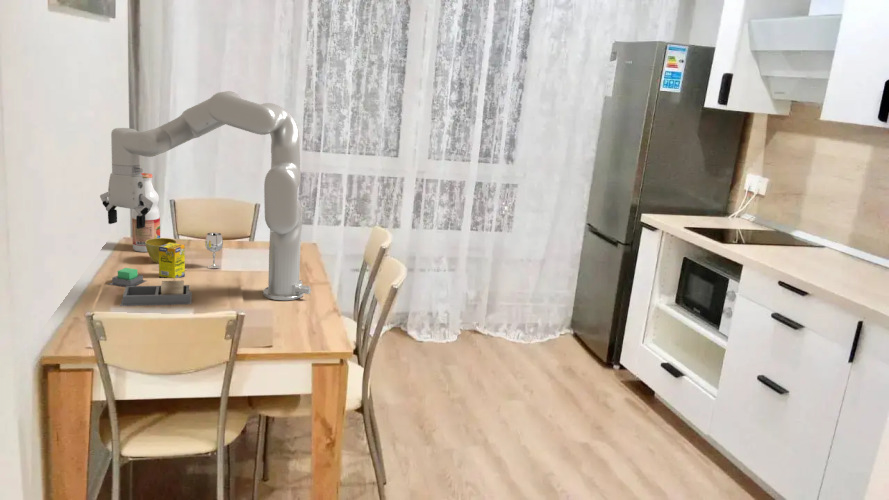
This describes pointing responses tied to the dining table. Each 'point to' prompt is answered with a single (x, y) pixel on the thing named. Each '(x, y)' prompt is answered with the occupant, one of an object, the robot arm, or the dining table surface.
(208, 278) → the dining table surface
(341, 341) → the dining table surface
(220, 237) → the wineglass
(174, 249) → the supplement box
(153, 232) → the fruit juice
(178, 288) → the block
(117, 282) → the button housing
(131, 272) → the button
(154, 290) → the divided grey tray
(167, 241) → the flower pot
